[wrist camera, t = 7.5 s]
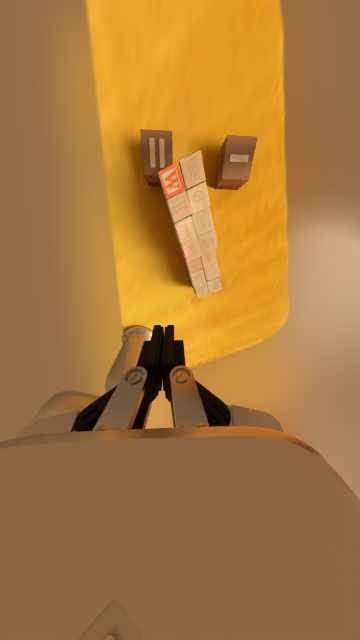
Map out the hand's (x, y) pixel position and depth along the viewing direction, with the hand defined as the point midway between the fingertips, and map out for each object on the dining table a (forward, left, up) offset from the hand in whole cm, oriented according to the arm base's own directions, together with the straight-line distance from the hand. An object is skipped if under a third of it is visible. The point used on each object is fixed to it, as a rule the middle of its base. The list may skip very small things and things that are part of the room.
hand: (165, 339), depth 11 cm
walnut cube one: (+20, -12, -29) cm, 37 cm away
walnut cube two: (+20, +2, -29) cm, 35 cm away
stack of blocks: (+7, -5, -30) cm, 31 cm away
